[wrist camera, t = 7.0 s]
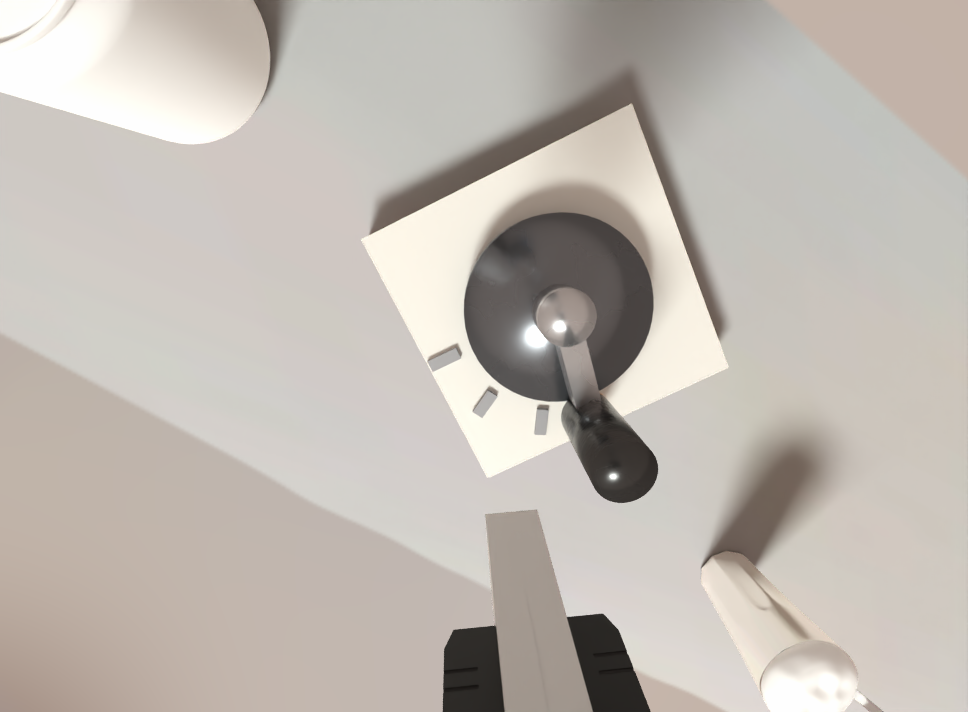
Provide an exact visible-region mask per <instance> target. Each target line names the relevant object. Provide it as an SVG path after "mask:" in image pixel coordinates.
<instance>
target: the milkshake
mask: <svg viewBox="0 0 968 712" xmlns="http://www.w3.org/2000/svg"><path fill="white" fill-rule="evenodd" d="M701 584H702V586H703V588H704V589H705V591H706V593H707V595H708V597H709V598H710V600H711V602H712V604H713V606H714V607H715V609H716V611H717V613H718V615H719V616H720V618H721V620H722V622H723V624H724V625H725V627H726V629H727V631H728V633H729V634H730V636H731V638H732V640H733V642H734V643H735V645H736V647H737V649H738V651H739V653H740V655H741V657H742V659H743V661H744V662H745V664H746V666H747V668H748V670H749V672H750V674H751V676H752V678H753V680H754V682H755V684H756V686H757V688H758V690H759V692H760V694H761V695H762V697H763V699H764V701H765V703H766V705H767V707H768V708H769V710H770V711H771V712H844V710H845V709H846V708H847V707H848V705H849V704H850V703H851V702H852V700H853V699H855V700H856V701H858V702H859V703H860V704H861V705H862V706H863V707H865V708H866V709H867V710H868V711H869V712H883V711H882V710H881V709H880V708H878V707H877V706H876V705H875V704H874V703H872V702H871V701H870V700H869V699H868V698H866V697H865V696H864V695H863V694H862V693H860V692H859V691H858V690H857V684H858V673H857V669H856V666H855V664H854V662H853V661H852V659H851V658H850V656H849V655H848V654H847V653H846V652H845V651H844V650H843V649H842V648H841V647H840V646H838V645H837V644H836V643H835V642H834V641H833V640H832V639H831V638H830V637H829V636H828V635H827V634H825V633H824V632H823V631H822V630H821V629H820V628H819V627H818V626H817V625H816V624H815V623H813V622H812V621H811V620H810V619H809V618H808V617H807V616H806V615H805V614H804V613H802V612H801V611H800V610H799V609H798V608H797V607H796V606H795V605H794V604H793V603H792V602H791V601H790V600H789V599H788V598H787V597H786V596H785V595H784V594H783V593H781V592H780V591H779V590H778V589H777V588H776V587H775V586H774V585H773V584H772V583H771V582H770V581H769V580H768V579H767V578H766V577H765V576H764V575H763V574H762V573H761V572H760V571H759V570H758V569H757V568H756V567H755V566H754V565H753V564H752V563H751V562H750V561H749V560H748V559H747V558H746V557H745V556H744V555H743V554H741V553H735V552H731V551H724V552H722V553H719V554H716V555H714V556H711V557H710V559H709V560H708V561H707V562H706V564H705V565H704V566H703V567H702V568H701Z"/></svg>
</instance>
